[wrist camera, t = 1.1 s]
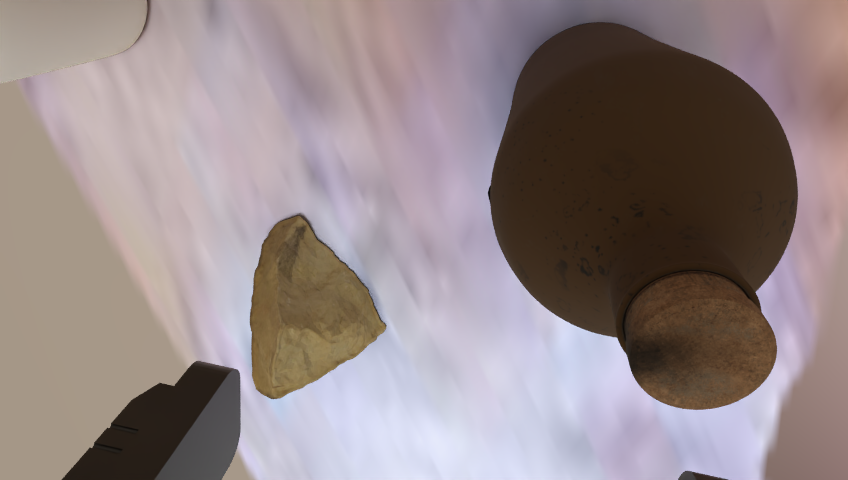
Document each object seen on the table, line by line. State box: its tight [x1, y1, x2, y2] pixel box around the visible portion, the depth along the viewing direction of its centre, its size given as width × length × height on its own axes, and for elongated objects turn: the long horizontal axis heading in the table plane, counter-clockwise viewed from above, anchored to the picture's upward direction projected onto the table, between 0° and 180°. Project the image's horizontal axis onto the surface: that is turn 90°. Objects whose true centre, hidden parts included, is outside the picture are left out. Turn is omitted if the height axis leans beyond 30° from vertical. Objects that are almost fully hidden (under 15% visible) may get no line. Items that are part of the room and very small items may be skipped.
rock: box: [250, 216, 386, 399], centre depth 41 cm, size 11×9×10 cm
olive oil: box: [487, 22, 798, 410], centre depth 24 cm, size 11×11×25 cm
